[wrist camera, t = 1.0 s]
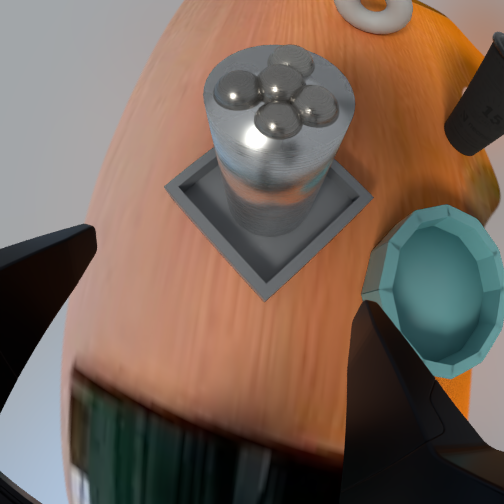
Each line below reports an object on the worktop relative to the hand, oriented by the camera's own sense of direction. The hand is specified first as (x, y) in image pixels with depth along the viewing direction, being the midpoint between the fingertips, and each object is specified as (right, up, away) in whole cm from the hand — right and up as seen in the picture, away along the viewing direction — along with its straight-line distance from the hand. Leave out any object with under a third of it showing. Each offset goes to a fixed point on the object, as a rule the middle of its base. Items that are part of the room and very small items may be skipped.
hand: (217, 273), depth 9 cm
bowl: (+16, -3, +13) cm, 21 cm away
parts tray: (+2, +5, +15) cm, 16 cm away
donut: (+16, +30, +20) cm, 39 cm away
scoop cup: (+2, +5, +14) cm, 15 cm away
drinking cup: (+24, +13, +17) cm, 32 cm away
